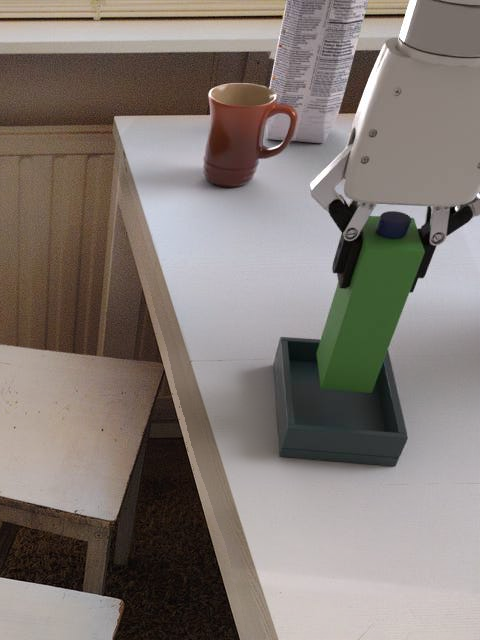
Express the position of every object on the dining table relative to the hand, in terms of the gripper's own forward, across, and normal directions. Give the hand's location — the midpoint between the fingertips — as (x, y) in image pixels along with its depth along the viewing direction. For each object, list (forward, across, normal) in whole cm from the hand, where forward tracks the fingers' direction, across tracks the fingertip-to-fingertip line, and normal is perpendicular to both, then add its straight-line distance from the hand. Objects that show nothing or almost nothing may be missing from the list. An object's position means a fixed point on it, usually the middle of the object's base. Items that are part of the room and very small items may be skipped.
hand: (374, 280), depth 70 cm
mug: (+13, +8, -53) cm, 56 cm away
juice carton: (+13, -1, -71) cm, 72 cm away
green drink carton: (+9, 0, 0) cm, 9 cm away
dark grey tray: (+13, 0, 0) cm, 13 cm away
